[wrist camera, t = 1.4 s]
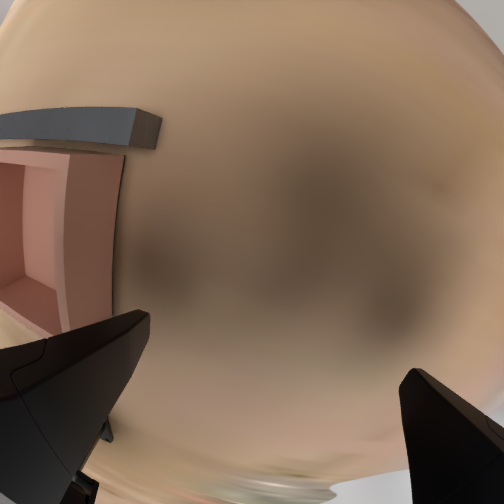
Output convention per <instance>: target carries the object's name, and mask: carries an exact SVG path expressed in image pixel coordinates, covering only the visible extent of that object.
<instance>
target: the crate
mask: <svg viewBox="0 0 504 504" xmlns="http://www.w3.org/2000/svg"><path fill="white" fill-rule="evenodd" d="M123 160H124V155H118V154H111V153H103V152H94V151H85V150H75V149H63V148H50V147H33V146H23V147H3V148H0V308H1V309H3V310H4V311H5V312H7V313H8V314H9V315H11V316H12V317H13V318H15V319H16V320H18V321H19V322H21V323H22V324H24V325H25V326H27V327H28V328H30V329H31V330H33V331H34V332H36V333H37V334H39V335H41V336H42V337H44V338H47V339H48V337H51V336H54V335H58V334H61V333H64V332H68V331H71V330H74V329H77V328H80V327H84V326H87V325H90V324H93V323H96V322H100V321H103V320H106V319H109V318H111V317H112V258H113V240H114V228H115V217H116V208H117V199H118V192H119V185H120V178H121V172H122V166H123Z"/></svg>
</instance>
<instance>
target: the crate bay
mask: <svg viewBox="0 0 504 504" xmlns="http://www.w3.org/2000/svg"><path fill="white" fill-rule="evenodd" d="M161 121H162V118H161V117H158V116H156V115H153V114H151V113H148V112H146V111H143V110H141V109H138V108H124V107H70V108H52V109H40V110H30V111H22V112H15V113H8V114H2V115H0V139H54V140H73V141H86V142H98V143H108V144H117V145H126V146H135V147H143V148H151V149H155V147H156V142H157V138H158V133H159V129H160V125H161Z"/></svg>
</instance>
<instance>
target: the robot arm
mask: <svg viewBox="0 0 504 504" xmlns="http://www.w3.org/2000/svg"><path fill="white" fill-rule="evenodd" d="M149 334H150V314H149V313H148V312H145V311H142V310H139V309H137V310H134V311H131V312H128V313H125V314H121V315H118V316H115V317H112V318H109V319H106V320H103V321H100V322H96V323H93V324H90V325H87V326H84V327H80V328H77V329H74V330H71V331H68V332H64V333H61V334H58V335H54V336H51V337H48V339H47V338H44V339H41V340H38V341H34V342H30V343H27V344H23V345H19V346H14V347H9V348H4V349H0V504H94V503H95V499H96V495H97V491H98V487H99V482H97V481H96V480H94V479H91V478H90V477H88V476H87V475H85V474H84V473H83V472H81V471H82V469H83V467H84V465H85V463H86V462H87V460H88V458H89V456H90V455H91V453H92V451H93V449H94V447H95V446H96V444H97V442H98V440H99V439H100V438H101V439H103V440H105V441H107V442H109V443H112V441H113V437H112V434H111V431H110V427H109V423H108V420H107V416H108V415H109V413H110V411H111V410H112V408H113V406H114V405H115V403H116V401H117V400H118V398H119V396H120V395H121V393H122V392H123V390H124V388H125V387H126V385H127V383H128V382H129V380H130V378H131V376H132V374H133V372H134V370H135V368H136V365H137V363H138V361H139V359H140V357H141V355H142V352H143V350H144V348H145V346H146V344H147V342H148V339H149ZM399 397H400V406H401V416H402V425H403V431H404V437H405V443H406V449H407V456H408V463H409V470H410V479H411V488H412V500H413V504H504V428H503V427H502V426H500V425H499V424H497V423H496V422H495V421H493V420H492V419H490V418H489V417H488V416H486V415H484V414H483V413H482V412H481V411H479V410H478V409H477V408H475V407H474V406H472V405H471V404H470V403H468V402H467V401H466V400H464V399H463V398H461V397H460V396H459V395H457V394H456V393H454V392H453V391H452V390H450V389H449V388H448V387H446V386H445V385H443V384H442V383H441V382H439V381H438V380H436V379H435V378H434V377H432V376H431V375H430V374H428V373H427V372H425V371H424V370H423V369H420V368H412V369H411V370H410V371H409V372H408V374H407V375H406V377H405V378H404V380H403V381H402V382H401V384H400V386H399ZM72 480H73V481H72Z"/></svg>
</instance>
